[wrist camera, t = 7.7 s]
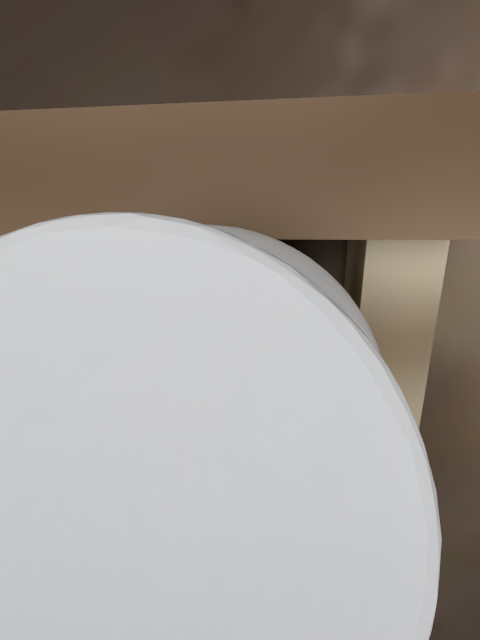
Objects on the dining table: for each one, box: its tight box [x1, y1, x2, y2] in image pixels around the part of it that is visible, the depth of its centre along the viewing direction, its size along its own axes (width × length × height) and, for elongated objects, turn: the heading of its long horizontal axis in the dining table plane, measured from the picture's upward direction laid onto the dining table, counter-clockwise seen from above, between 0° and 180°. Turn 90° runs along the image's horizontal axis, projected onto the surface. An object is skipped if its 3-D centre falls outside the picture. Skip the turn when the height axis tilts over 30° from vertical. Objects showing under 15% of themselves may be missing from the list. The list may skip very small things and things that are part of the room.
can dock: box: [0, 90, 480, 429], centre depth 9 cm, size 12×11×6 cm
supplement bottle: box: [0, 212, 442, 640], centre depth 7 cm, size 5×5×10 cm
